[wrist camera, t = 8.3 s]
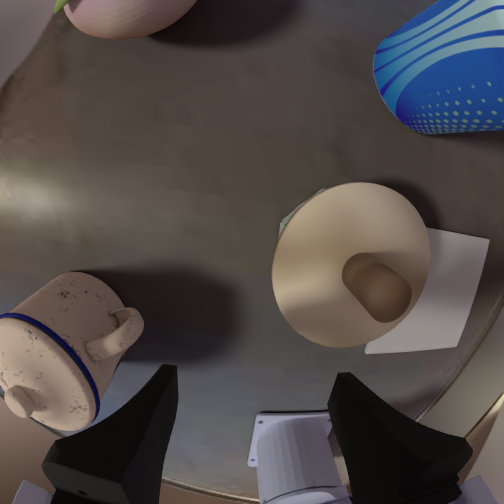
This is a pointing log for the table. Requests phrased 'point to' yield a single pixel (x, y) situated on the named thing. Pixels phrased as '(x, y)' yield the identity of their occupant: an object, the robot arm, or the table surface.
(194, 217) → the table surface
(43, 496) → the robot arm
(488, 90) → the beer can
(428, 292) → the mat
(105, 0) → the decorative fruit
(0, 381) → the teacup with lid
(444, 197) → the table surface
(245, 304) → the table surface
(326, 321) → the lid
